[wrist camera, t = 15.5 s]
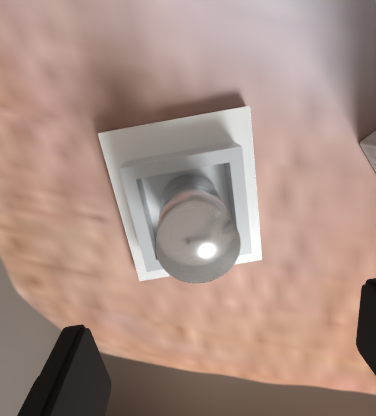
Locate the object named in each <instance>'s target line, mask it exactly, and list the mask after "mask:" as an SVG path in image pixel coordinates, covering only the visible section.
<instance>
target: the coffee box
mask: <svg viewBox="0 0 376 416" xmlns="http://www.w3.org/2000/svg"><path fill="white" fill-rule="evenodd" d="M360 146H361V148H362V150H363V151H364V153H365V155H366V156H367V158H368V160H369V162H370V163H371V165H372V167H373V169H374V170H375V172H376V130H375V131H374V132H373V133H371V134H370V135H369V136H367V137H366V138H365V139H363V140H362V141H361V142H360Z"/></svg>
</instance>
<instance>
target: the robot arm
mask: <svg viewBox="0 0 376 416" xmlns="http://www.w3.org/2000/svg"><path fill="white" fill-rule="evenodd" d="M356 345H357V348H358V351H359V353H360V354H361V356H362V357H363V358H364V360H365V361H366V363H367V364H368V365H369V367H370V368H371V370H372V371H373V372H374V374H375V375H376V278H374V279H368V280H367V281H366V284H365V285H363V286H362V289H361V299H360V309H359V318H358V328H357V338H356ZM110 392H111V380H110V377H109V375H108V372H107V370H106V368H105V365H104V362H103V360H102V358H101V356H100V353H99V350H98V348H97V346H96V343H95V341H94V338H93V336H92V334H91V331H90V329H89V328H85V327H84V325H76V326H69V327H65V328H64V329H63V330H62V332H61V334H60V336H59V338H58V340H57V342H56V344H55V346H54V348H53V350H52V352H51V354H50V356H49V358H48V360H47V362H46V364H45V366H44V368H43V370H42V372H41V374H40V376H38V378H37V379H36V381H35V382H34V384H33V386H32V388H31V390H30V392H29V394H28V396H27V398H26V400H25V402H24V404H23V406H22V407H21V409H20V412H19V413H18V415H17V416H105V413H106V408H107V404H108V400H109V396H110Z"/></svg>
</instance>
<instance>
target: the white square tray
mask: <svg viewBox="0 0 376 416" xmlns="http://www.w3.org/2000/svg"><path fill="white" fill-rule="evenodd" d="M98 137H99V140H100V144H101V147H102V151H103V154H104V158H105V161H106V165H107V168H108V172H109V176H110V179H111V183H112V186H113V190H114V193H115V197H116V200H117V204H118V207H119V211H120V214H121V218H122V221H123V225H124V228H125V232H126V235H127V239H128V242H129V246H130V249H131V253H132V256H133V260H134V263H135V267H136V270H137V274H138V278H139V281H144V280H150V279H155V278H161V277H167V276H171V275H169V274H168V273H167V272H166V271H165V270H164V269H163V268H162V266H161V265H160V263H159V261H158V258H157V255H156V237H157V229H158V220H159V212H160V203H161V196H162V193H163V190H164V188H165V187H166V185H167V184H168V183H169V182H170V181H171V180H173V179H174V178H176V177H178V176H180V175H184V174H197V175H200V176H203V177H205V178H206V179H208V180H209V181H210V182H211V183H212V184H213V185H214V187H215V189H216V191H217V192H218V194H219V196H220V198H221V200H222V202H223V203H224V205H225V207H226V209H227V211H228V213H229V215H230V216H231V218H232V220H233V222H234V224H235V226H236V228H237V229H238V232H239V235H240V240H241V247H240V253H239V256H238V258H237V260H236V262H235V264H240V263H246V262H251V261H257V260H262V252H261V239H260V226H259V213H258V200H257V188H256V175H255V162H254V149H253V136H252V124H251V111H250V106H243V107H237V108H232V109H226V110H221V111H215V112H210V113H204V114H199V115H193V116H188V117H182V118H177V119H171V120H166V121H160V122H155V123H149V124H144V125H138V126H133V127H127V128H122V129H116V130H111V131H105V132H100V133H98Z"/></svg>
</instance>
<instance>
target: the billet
mask: <svg viewBox="0 0 376 416" xmlns="http://www.w3.org/2000/svg"><path fill="white" fill-rule="evenodd" d="M240 247H241V240H240V235H239V232H238V229H237V228H236V226H235V224H234V222H233V220H232V218H231V216H230V215H229V213H228V211H227V209H226V207H225V205H224V203H223V202H222V200H221V198H220V196H219V194H218V192H217V191H216V189H215V187H214V185H213V184H212V183H211V182H210V181H209V180H208V179H206V178H205V177H203V176H200V175H197V174H184V175H180V176H178V177H176V178H174V179H173V180H171V181H170V182H169V183H168V184H167V185H166V187H165V188H164V190H163V193H162V196H161V203H160V212H159V220H158V229H157V237H156V255H157V258H158V261H159V263H160V265H161V266H162V268H163V269H164V270H165V271H166V272H167V273H168V274H169V275H171V276H172V277H174V278H176V279H178V280H181V281H184V282H188V283H205V282H209V281H212V280H215V279H217V278H219V277H221V276H222V275H224V274H225V273H226V272H228V271H229V270H230V269H231V268H232V266H233V265H234V264H235V262H236V260H237V258H238V256H239V253H240Z"/></svg>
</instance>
